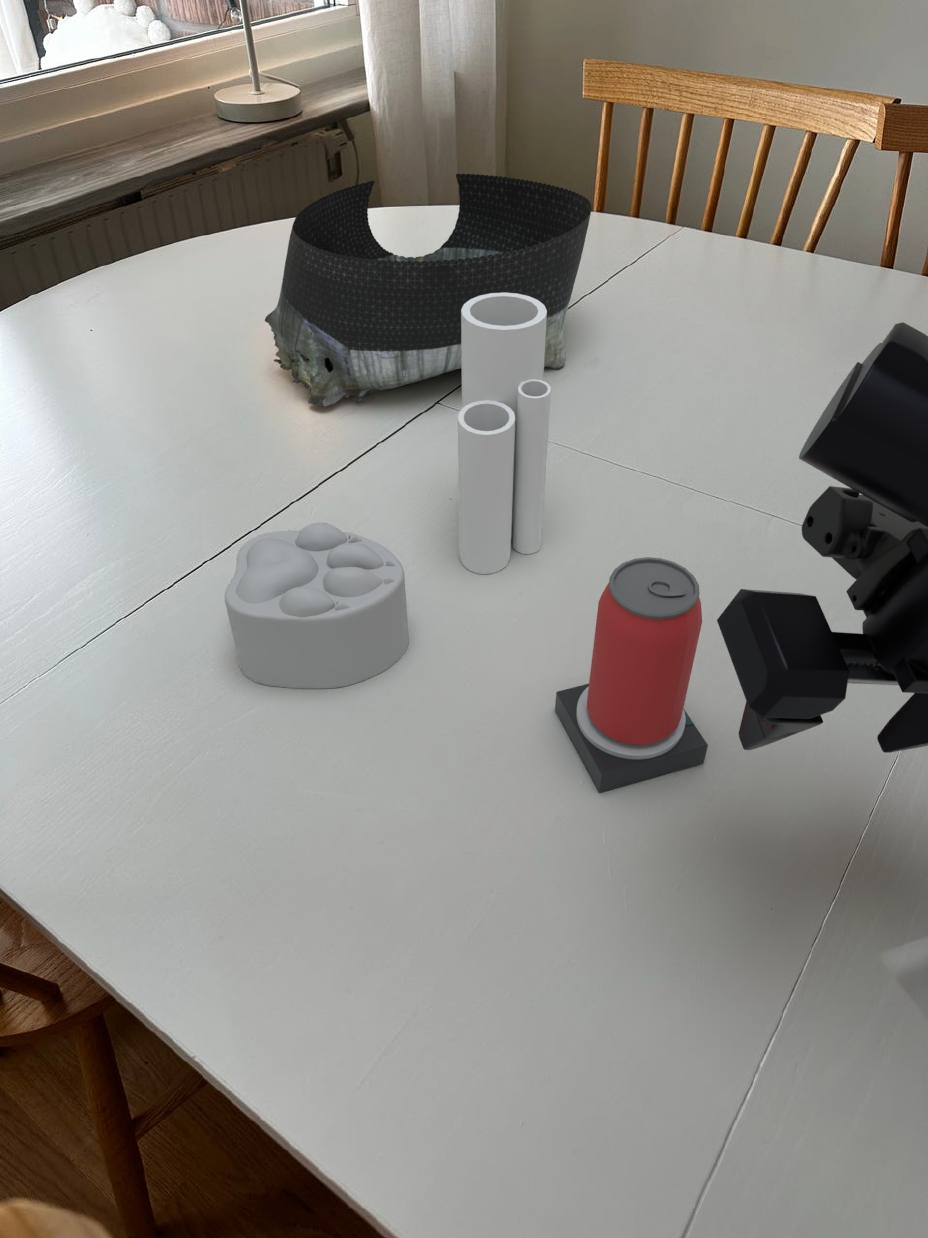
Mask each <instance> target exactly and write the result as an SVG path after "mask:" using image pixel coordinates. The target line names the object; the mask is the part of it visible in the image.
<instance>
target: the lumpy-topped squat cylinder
mask: <svg viewBox="0 0 928 1238" xmlns="http://www.w3.org/2000/svg"><path fill="white" fill-rule="evenodd" d="M235 567H236V568H235V572H234V574H233V577H232V578H231V580H230V581H229V584H228V585H227V587H226V589H225V592H224V604H225V607H226V613H227V616H228V620H229V625H230V629H231V633H232V638H233V642H234V646H235V651H236V655H237V659H238V663H239V667H240V668H239V669H240V670H241V672H242V673H243V675H244V676H245V677H246V678H248V680H251V681H252V682H255V683H256V684H259V685H264V686H268V687H279V688H289V689H312V690H313V689H316V690H317V689H318V690H319V689H336V688H345V687H348V686H351V685H354V684H357V683H361V682H363V681H365V680H368V679H370V678H373V677H375V676H377V675H380V674H381V673H383V672H385V671H386V670H388V669H389V668H391V667H392V666H393V665H394V664H396V663H397V662H398V661H399V660H401V659H402V658H403V656H404V655H405V654H406V653H407V650H408V647H409V640H410V638H409V623H408V609H407V608H408V607H407V605H408V604H407V593H406V577H405V570H404V567H403V564H402V563H401V562H400V559H398V557H397V556H396V555H395V554H394V553H393V552H391V550H389V549H388V548H387V547H385V546H383V545H382V544H380V543H378V542H377V541H374V540H371V539H369V538H367V537H364V536H362V535H358V534H356V533H352V532H345V531H342V530H341V529H339V528H338V527H336V526H334V525H333V524H330V523H328V522H313V523H310V524H307V525H305V526H304V527H302V529H300V530H278V531H270V532H266V533H262V534H259V535H257V536H255V537H253V538H251V539H249V540H248V541H246V542H245V543H244V544H242V546H241V547H240V548H239V550H238V552H237V556H236V565H235Z"/></svg>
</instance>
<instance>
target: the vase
mask: <svg viewBox="0 0 928 1238" xmlns="http://www.w3.org/2000/svg"><path fill="white" fill-rule="evenodd" d="M546 319H547V310H546V308H545V305H543V304H542V303H541V302H540V301H539V300H537V299H534V298H532V297H530V296H526V295H521V294H517V293H490V294H485V295H480V296H478V297H475V298H473V299H470V300H469V301H468V302H466V303H465V304H464V305H463V307H462V309H461V348H462V368H461V409H459V412H458V414H457V456H458V457H457V460H458V461H457V465H458V467H457V468H458V469H457V471H458V473H457V474H458V476H457V477H458V545H459V546H458V552H459V553H458V554H459V561H460V563H461V564H462V566H463V567H464V568H465V569H467V570H468V571H469V572H472V573H474V574H480V575H493V574H495V573H498V572H500V571H502V570H503V569H505V568H506V567H507V565H508V564H509V563H510V560H511V554H512V553H511V552H512V548H513V549H514V551H516V552H518V553H519V554H522V555H533V554H536V553H537V552H538V551H540V549H541V548H542V539H543V526H544V525H543V524H544V507H545V494H546V493H545V492H546V491H545V490H546V478H547V477H546V476H547V462H548V461H547V460H548V445H549V430H550V427H549V426H550V413H551V412H550V411H551V396H552V388H551V385H550V384H549V383H548V382H546V381H545V380H544V373H545V372H544V370H545V367H544V355H545V337H546Z"/></svg>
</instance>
